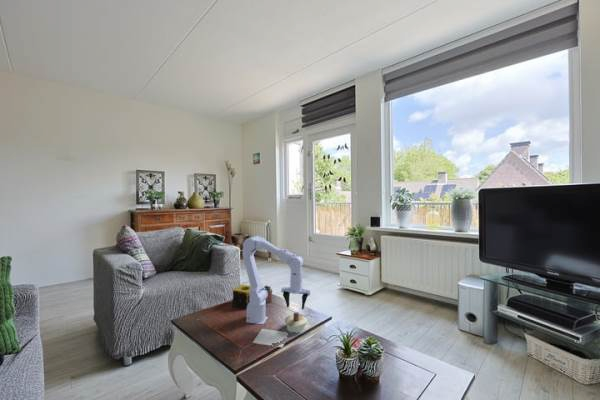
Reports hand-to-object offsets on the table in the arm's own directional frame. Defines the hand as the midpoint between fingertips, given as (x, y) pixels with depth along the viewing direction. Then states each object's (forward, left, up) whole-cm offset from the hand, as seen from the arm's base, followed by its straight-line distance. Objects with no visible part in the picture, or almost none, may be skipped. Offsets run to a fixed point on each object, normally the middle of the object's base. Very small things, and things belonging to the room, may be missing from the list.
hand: (295, 307), depth 133 cm
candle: (-35, +17, -11) cm, 41 cm away
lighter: (-24, +24, -11) cm, 36 cm away
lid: (+1, -1, -6) cm, 6 cm away
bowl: (+1, -1, -10) cm, 10 cm away
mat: (-8, -12, -10) cm, 18 cm away
